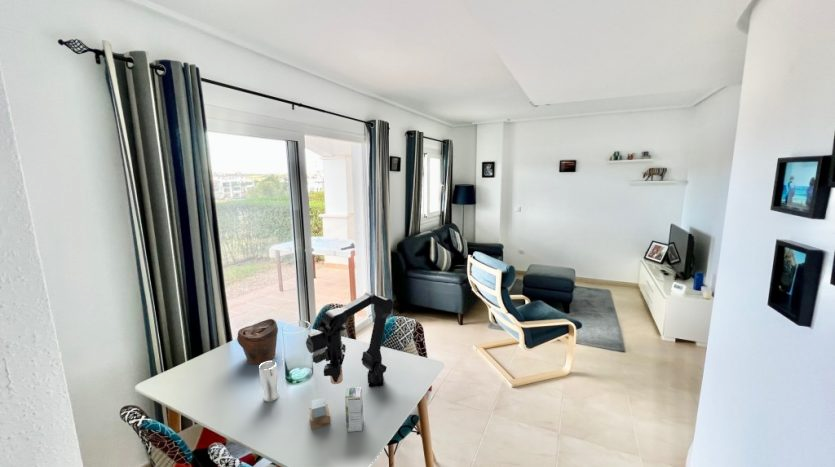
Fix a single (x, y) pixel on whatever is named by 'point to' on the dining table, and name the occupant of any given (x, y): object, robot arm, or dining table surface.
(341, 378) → the tan rounded tapered piece
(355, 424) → the syrup box
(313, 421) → the walnut base block
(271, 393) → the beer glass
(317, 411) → the slate block
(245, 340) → the brown plant pot
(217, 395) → the dining table surface
